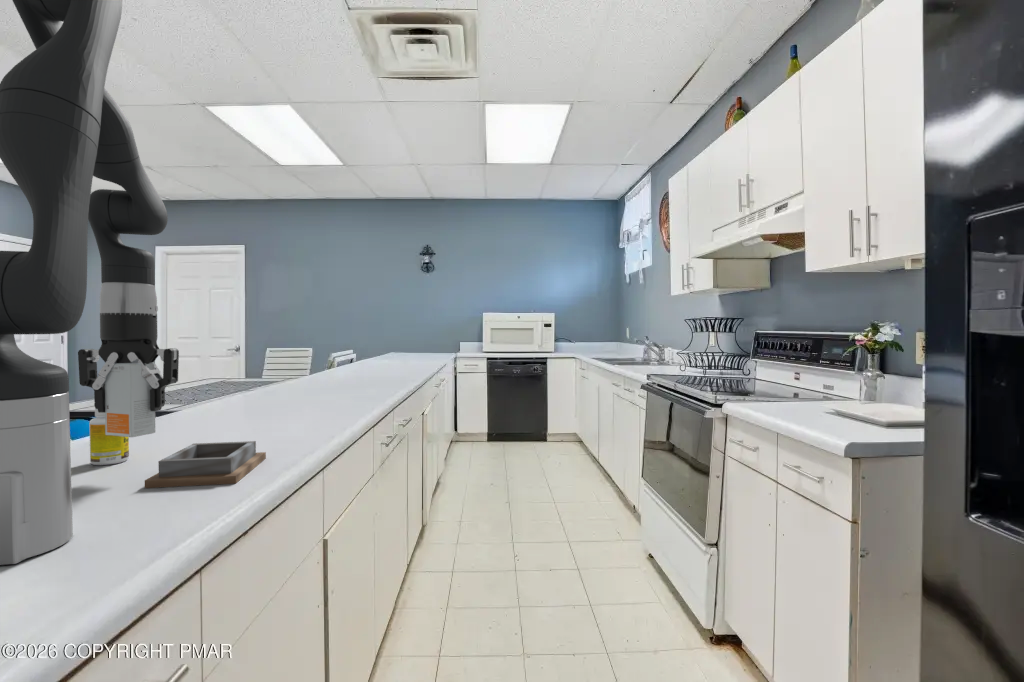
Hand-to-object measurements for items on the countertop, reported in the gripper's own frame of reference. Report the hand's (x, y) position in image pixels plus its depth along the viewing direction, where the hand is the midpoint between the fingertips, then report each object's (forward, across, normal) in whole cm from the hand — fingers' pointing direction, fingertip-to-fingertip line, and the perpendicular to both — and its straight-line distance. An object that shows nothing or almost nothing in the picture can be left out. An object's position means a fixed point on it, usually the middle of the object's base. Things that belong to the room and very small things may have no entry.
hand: (130, 411), depth 82 cm
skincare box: (+4, 0, 0) cm, 4 cm away
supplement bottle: (+11, -9, +10) cm, 18 cm away
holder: (+11, +12, 0) cm, 16 cm away
